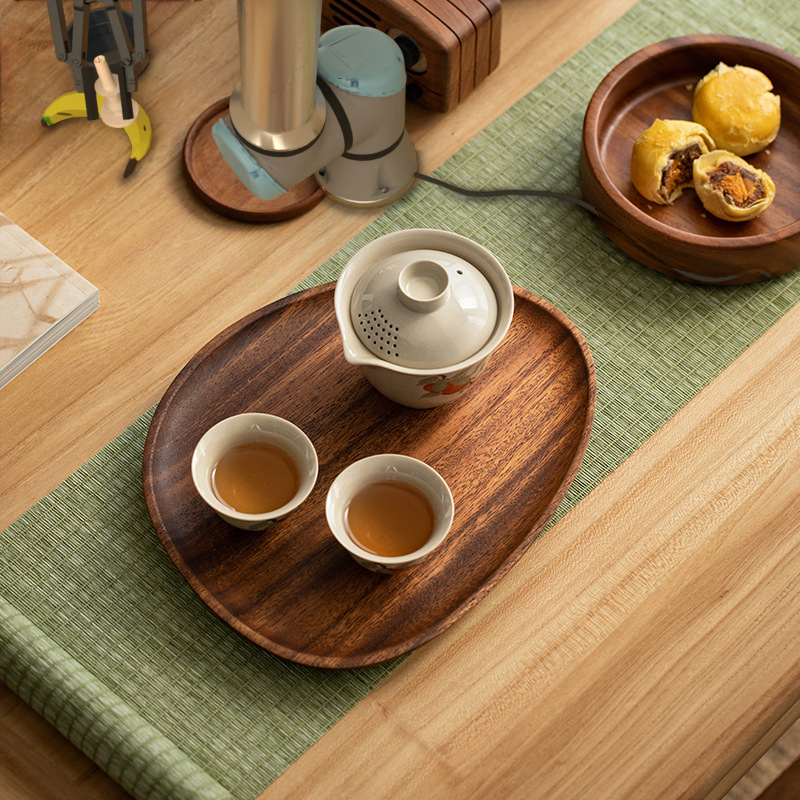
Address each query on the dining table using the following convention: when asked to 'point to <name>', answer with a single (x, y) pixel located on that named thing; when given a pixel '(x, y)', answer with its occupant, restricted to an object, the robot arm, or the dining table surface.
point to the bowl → (106, 40)
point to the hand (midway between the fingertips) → (111, 119)
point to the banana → (76, 107)
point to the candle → (111, 96)
